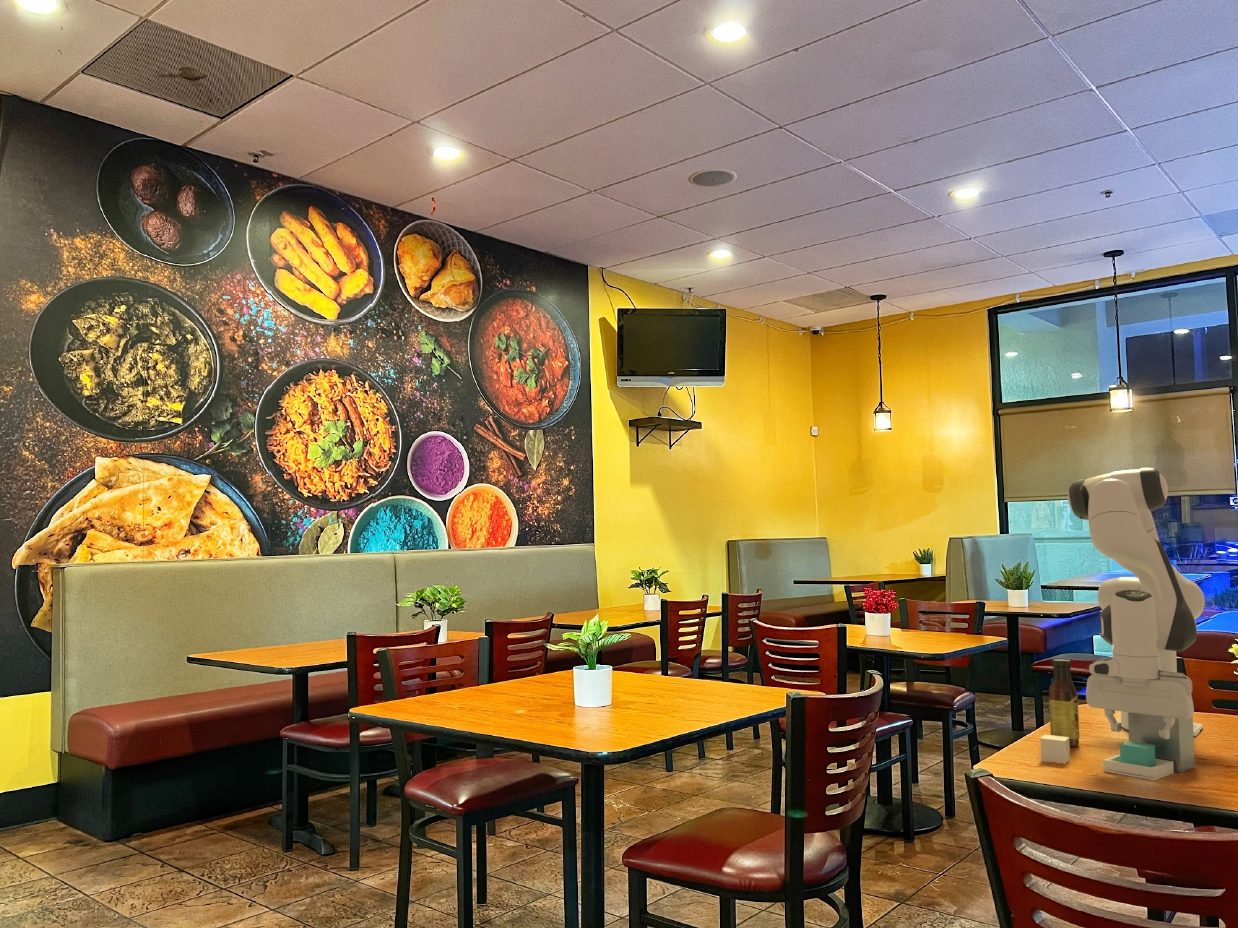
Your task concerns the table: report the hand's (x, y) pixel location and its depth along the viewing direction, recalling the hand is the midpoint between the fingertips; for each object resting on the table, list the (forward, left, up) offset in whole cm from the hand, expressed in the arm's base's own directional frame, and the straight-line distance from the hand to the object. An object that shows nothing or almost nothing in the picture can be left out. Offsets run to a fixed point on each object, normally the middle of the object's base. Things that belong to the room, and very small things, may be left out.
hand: (1139, 734), depth 197 cm
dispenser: (-9, +1, -8) cm, 12 cm away
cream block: (+4, -16, -8) cm, 18 cm away
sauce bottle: (-14, -22, -8) cm, 28 cm away
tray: (+1, 0, -8) cm, 8 cm away
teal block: (+1, 0, -7) cm, 7 cm away
